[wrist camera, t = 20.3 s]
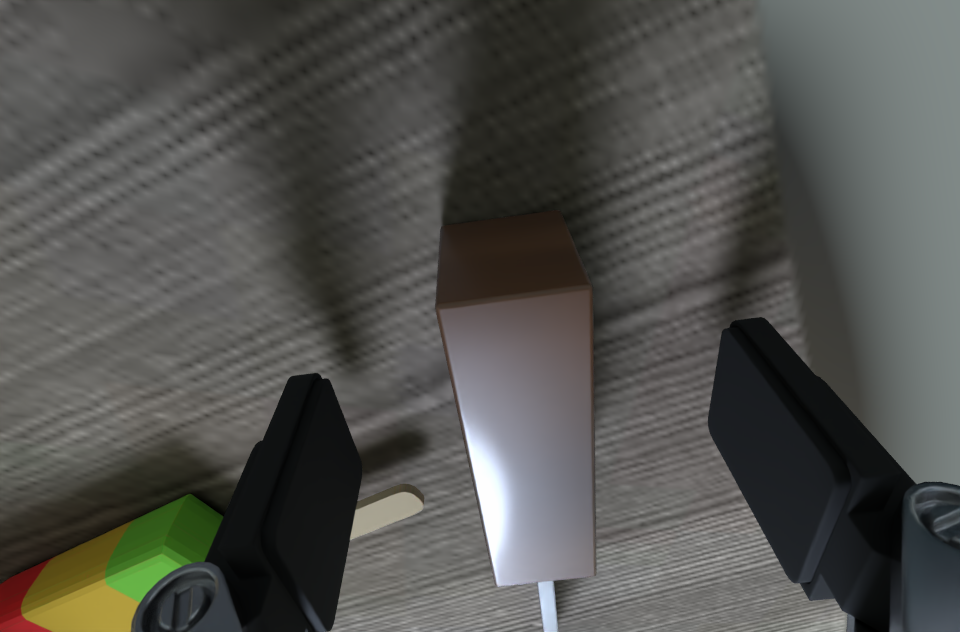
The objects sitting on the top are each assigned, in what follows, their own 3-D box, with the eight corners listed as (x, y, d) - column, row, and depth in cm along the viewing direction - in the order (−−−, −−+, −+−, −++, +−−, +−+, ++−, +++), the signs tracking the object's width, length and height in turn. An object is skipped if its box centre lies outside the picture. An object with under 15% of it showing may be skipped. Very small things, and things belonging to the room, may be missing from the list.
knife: (439, 224, 10) (433, 305, 8) (560, 207, 10) (594, 284, 8) (517, 635, 20) (526, 732, 17) (580, 629, 20) (598, 725, 17)
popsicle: (-21, 584, 17) (-71, 649, 15) (361, 402, 13) (347, 464, 11) (124, 651, 19) (94, 711, 18) (472, 517, 16) (473, 579, 14)
